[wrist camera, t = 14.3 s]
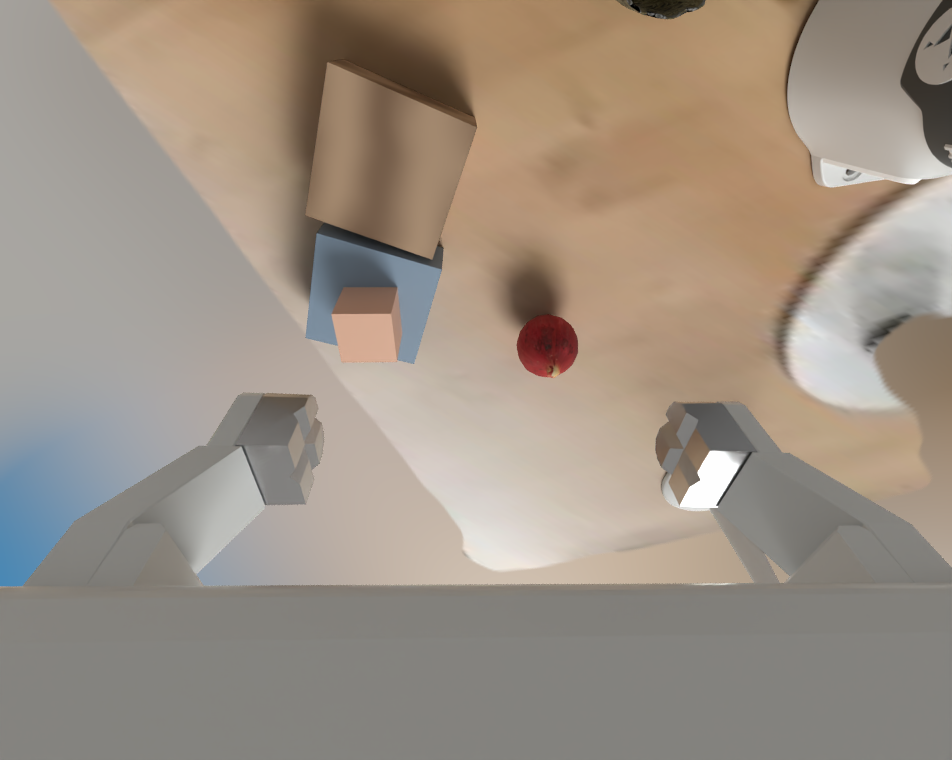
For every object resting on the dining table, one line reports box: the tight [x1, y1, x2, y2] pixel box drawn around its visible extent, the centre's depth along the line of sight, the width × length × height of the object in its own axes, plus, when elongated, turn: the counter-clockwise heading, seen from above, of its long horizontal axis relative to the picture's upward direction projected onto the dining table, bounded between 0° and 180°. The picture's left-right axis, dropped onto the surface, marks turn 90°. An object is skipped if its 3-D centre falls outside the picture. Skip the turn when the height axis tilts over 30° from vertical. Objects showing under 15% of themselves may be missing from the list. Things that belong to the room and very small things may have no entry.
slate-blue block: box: [306, 222, 443, 364], centre depth 40 cm, size 10×10×5 cm
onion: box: [517, 314, 578, 378], centre depth 42 cm, size 6×6×8 cm
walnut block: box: [305, 59, 477, 260], centre depth 33 cm, size 10×10×5 cm
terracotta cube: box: [331, 287, 402, 362], centre depth 36 cm, size 4×4×4 cm
